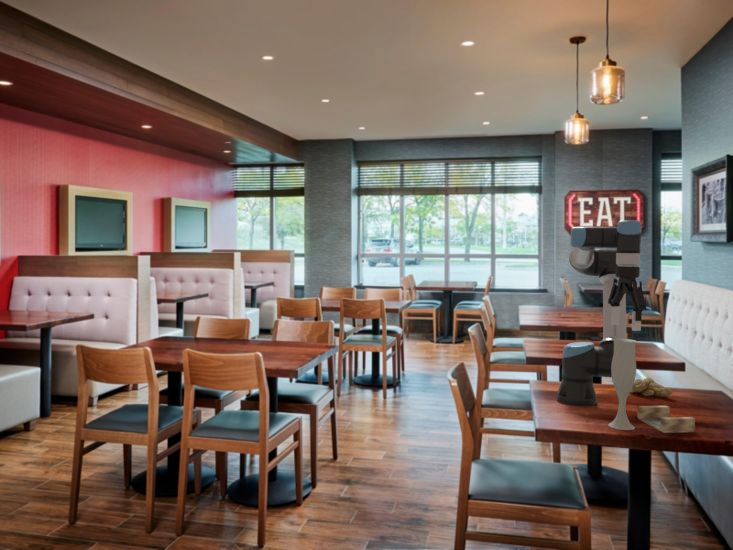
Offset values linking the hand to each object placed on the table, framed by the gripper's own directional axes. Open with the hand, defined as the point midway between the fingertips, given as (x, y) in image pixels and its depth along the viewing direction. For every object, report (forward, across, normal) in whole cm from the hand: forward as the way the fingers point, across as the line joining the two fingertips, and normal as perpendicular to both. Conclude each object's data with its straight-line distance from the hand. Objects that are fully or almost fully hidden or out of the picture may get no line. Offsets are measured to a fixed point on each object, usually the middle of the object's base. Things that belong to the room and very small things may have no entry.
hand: (625, 327), depth 208 cm
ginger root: (+34, +42, -34) cm, 64 cm away
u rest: (+34, 0, -16) cm, 38 cm away
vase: (+34, 0, 0) cm, 35 cm away
